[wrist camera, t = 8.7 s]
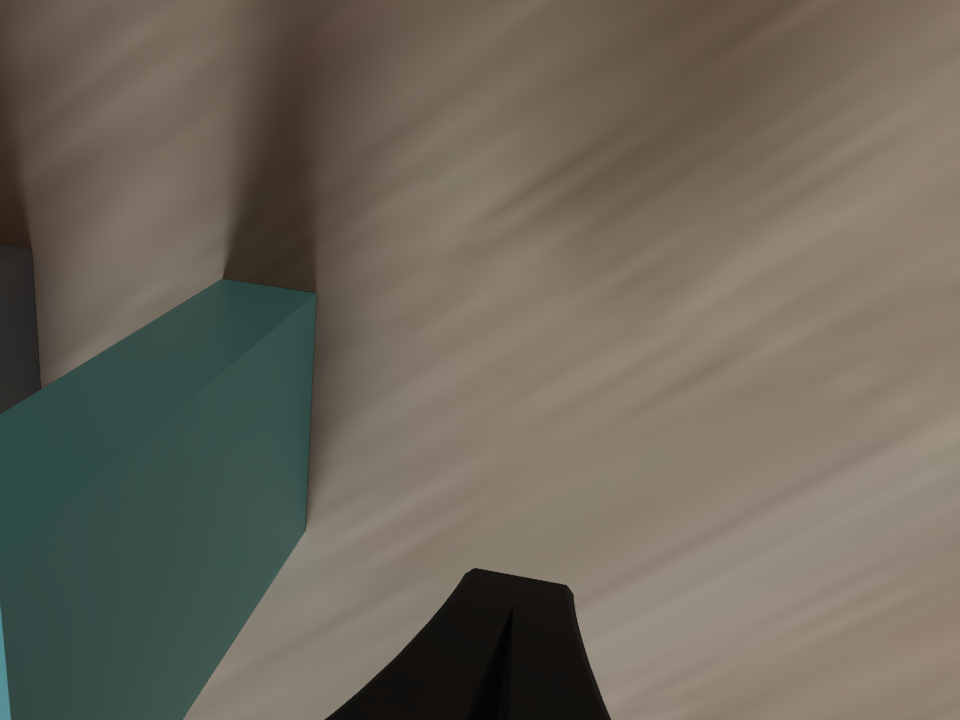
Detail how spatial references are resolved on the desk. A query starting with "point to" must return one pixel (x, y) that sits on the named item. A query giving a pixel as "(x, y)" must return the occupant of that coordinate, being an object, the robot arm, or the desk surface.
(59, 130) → the desk surface
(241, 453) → the domino
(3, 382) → the domino
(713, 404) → the desk surface
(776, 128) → the desk surface
